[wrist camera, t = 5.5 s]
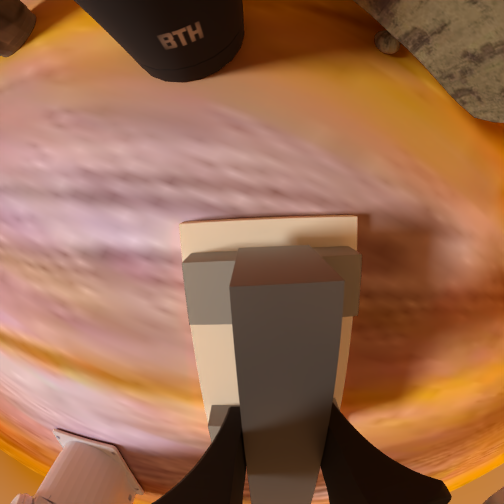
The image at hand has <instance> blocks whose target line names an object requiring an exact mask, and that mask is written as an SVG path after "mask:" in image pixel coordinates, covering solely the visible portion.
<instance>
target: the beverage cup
mask: <svg viewBox="0 0 504 504" xmlns="http://www.w3.org/2000/svg"><path fill="white" fill-rule="evenodd" d="M35 22H36V16H35V15H34V14H33V13H32V12H31V11H30V10H29V9H28V8H27V6H26V5H24V4H23V3H22V2H21V1H20V0H0V56H3V57H8V56H10V55H12V54H14V53H15V52H16V51H17V50H18V49H19V48H20V47H21V46H22V45H23V43H24V42H25V41H26V40H27V38H28V37H29V35H30V33H31V32H32V30H33V28H34V25H35Z"/></svg>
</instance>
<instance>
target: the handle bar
mask: <svg viewBox="0 0 504 504" xmlns="http://www.w3.org/2000/svg"><path fill="white" fill-rule="evenodd" d="M344 283H345V280H344V279H343V278H342V277H341V276H340V275H339V274H338V273H337V272H336V271H335V270H334V269H333V268H332V267H331V266H330V265H329V264H328V263H327V262H326V261H325V260H324V259H323V258H322V257H321V256H320V255H319V254H318V253H317V252H316V251H315V250H314V249H313V248H312V247H311V246H310V245H291V246H269V247H247V248H238V252H237V256H236V261H235V265H234V269H233V273H232V277H231V281H230V285H229V291H230V304H231V316H232V328H233V340H234V351H235V362H236V373H237V383H238V394H239V403H240V413H241V422H242V431H243V440H244V449H245V457H246V466H247V474H248V482H249V489H250V497H251V504H311V501H312V498H313V494H314V490H315V486H316V482H317V478H318V474H319V470H320V465H321V461H322V456H323V451H324V447H325V442H326V436H327V431H328V426H329V420H330V414H331V408H332V402H333V395H334V389H335V381H336V374H337V366H338V357H339V348H340V338H341V328H342V315H343V301H344Z"/></svg>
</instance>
